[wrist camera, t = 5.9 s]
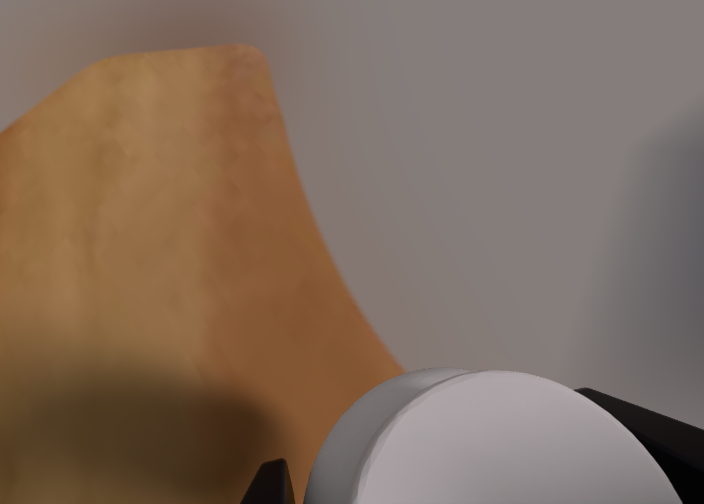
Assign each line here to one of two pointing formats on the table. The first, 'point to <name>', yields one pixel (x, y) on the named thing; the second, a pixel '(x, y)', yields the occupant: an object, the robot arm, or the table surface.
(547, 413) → the supplement bottle
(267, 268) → the table surface
